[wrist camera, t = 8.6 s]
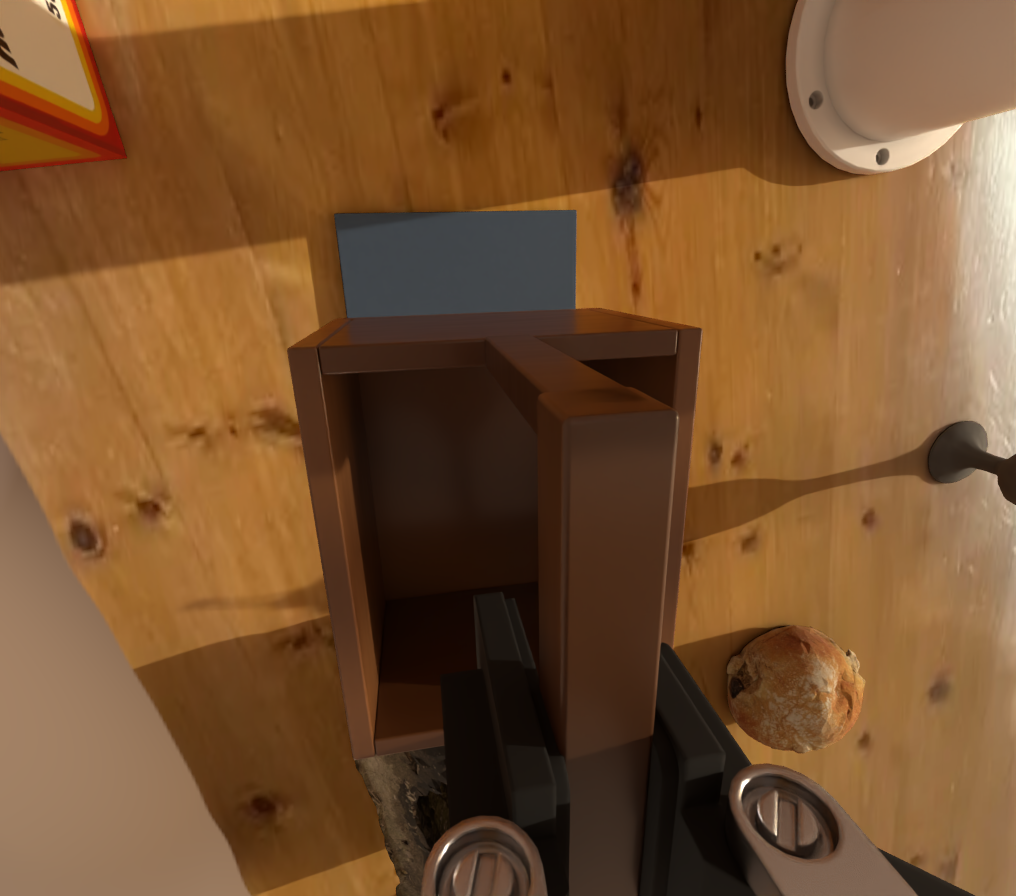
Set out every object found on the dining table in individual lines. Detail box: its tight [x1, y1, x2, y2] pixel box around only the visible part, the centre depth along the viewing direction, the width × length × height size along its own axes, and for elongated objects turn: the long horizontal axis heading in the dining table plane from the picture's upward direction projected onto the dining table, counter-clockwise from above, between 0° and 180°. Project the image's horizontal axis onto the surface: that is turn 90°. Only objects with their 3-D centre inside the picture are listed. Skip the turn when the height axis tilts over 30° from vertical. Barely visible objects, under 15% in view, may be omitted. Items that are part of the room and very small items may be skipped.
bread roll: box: [727, 625, 865, 753], centre depth 41 cm, size 10×10×8 cm
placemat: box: [334, 210, 576, 318], centre depth 31 cm, size 20×13×1 cm, turn 1°
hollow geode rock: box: [355, 746, 450, 896], centre depth 35 cm, size 28×13×15 cm
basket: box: [287, 308, 703, 896], centre depth 13 cm, size 11×9×14 cm
